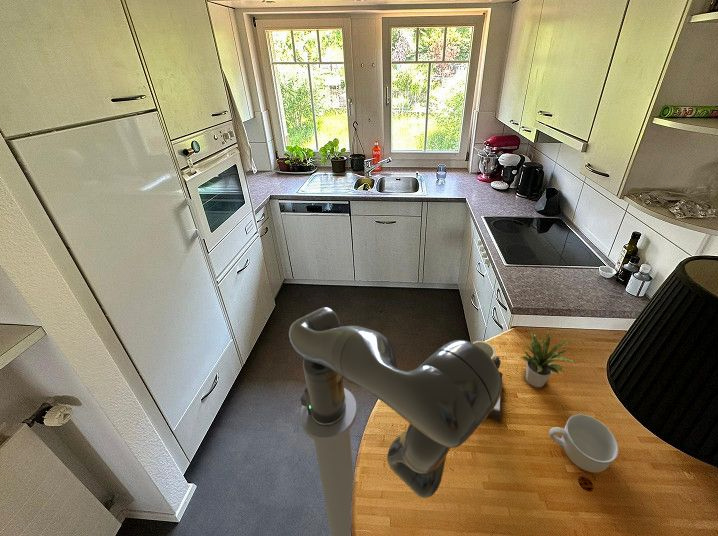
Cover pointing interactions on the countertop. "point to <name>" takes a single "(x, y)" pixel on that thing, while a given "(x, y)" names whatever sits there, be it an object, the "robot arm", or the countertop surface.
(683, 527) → the countertop surface
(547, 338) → the house plant
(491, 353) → the tumbler
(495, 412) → the scale
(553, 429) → the teacup
